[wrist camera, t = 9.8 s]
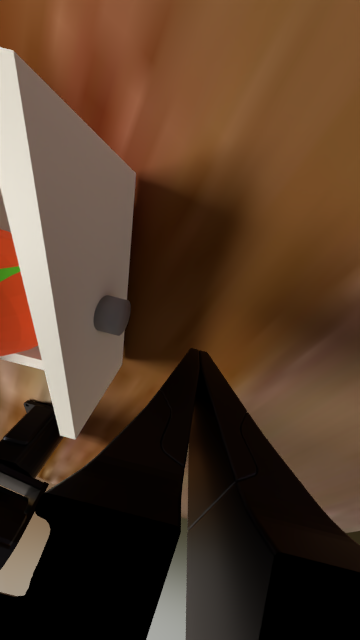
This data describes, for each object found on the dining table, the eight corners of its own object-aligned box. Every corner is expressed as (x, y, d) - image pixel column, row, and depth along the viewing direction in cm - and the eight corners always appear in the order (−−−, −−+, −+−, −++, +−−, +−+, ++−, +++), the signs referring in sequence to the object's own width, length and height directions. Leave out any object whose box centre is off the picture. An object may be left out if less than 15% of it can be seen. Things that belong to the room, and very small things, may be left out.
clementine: (60, 196, 10) (-214, 113, 3) (123, 299, 12) (39, 365, 6) (-16, 254, 12) (-266, 273, 5) (51, 331, 14) (-66, 404, 8)
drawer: (133, 367, 16) (93, 444, 10) (-2, 333, 16) (-122, 389, 10) (156, 178, 9) (72, 65, 3) (-82, 117, 9) (-622, -115, 3)
